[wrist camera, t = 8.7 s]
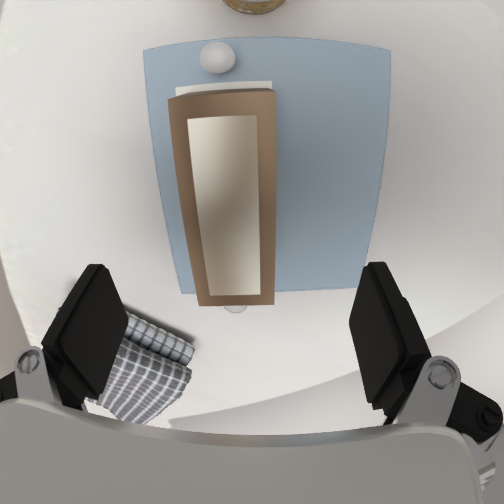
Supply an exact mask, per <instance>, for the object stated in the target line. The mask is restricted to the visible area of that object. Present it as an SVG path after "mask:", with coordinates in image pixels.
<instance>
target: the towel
mask: <svg viewBox="0 0 504 504" xmlns="http://www.w3.org/2000/svg"><path fill="white" fill-rule="evenodd" d="M74 286H75V285H74ZM61 307H62V306H61ZM61 307H60V308H61ZM60 308H59V309H58V312H59V310H60ZM125 311H126V310H125ZM58 312H57V313H58ZM126 313H127V315H128V319H129V323H128V327H127V329H126V332H125V334H124V337H123V339H122V342H121V345H120V347H119V350H118V353H117V355H116V358H115V361H114V364H113V366H112V369H111V372H110V375H109V378H108V381H107V384H106V386H105V389H104V392H103V393H102V394H100V396H99V399H98V400H93V399H89V398H87V397H85V399H86V400H88V401H89V402H92V403H95V404H96V405H100V406H103V407H104V408H106V409H109V410H110V412H111V413H113V414H114V415H115V416H116V417H117V419H119V420H121V421H126V422H131V423H136V424H141V425H145V424H146V423H147V422H148V421H149V420H151V419H153V418H154V417H155V416H158V415H159V414H160V413H161V412H162V411H163V410H164V409H165V408H167V407H168V406H169V405H171V404H172V403H173V402H174V401H175V400H176V399H177V398H180V396H181V395H182V391H184V389H185V387H186V384H187V383H189V380H190V379H191V374H192V370H191V369H189V368H187V367H186V366H187V364H188V363H189V362H190V360H191V359H192V355H193V353H194V351H195V349H194V347H193V345H192V344H190V343H188V342H186V341H184V340H183V339H182V338H179V337H176V336H175V335H173V334H172V333H170V332H166V331H165V330H164V329H162V328H158V327H157V326H155V325H153V324H151V323H148V322H147V321H145V320H143V319H140V318H138V317H137V316H135V315H134V314H130V313H129V312H127V311H126ZM56 315H57V314H56Z"/></svg>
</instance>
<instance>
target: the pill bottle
mask: <svg viewBox="0 0 504 504" xmlns="http://www.w3.org/2000/svg"><path fill="white" fill-rule="evenodd" d="M223 1H224V2H225V3H226V4H227V5H228V6H229V7H231V8H233V9H234V10H237V11H239V12H243V13H250V14H256V13H258V14H261V13H265V12H269V11H271V10H274V9H276V8H277V7H278V6H280V5H282V4H283V2H284V1H285V0H223Z"/></svg>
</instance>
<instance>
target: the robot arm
mask: <svg viewBox="0 0 504 504" xmlns="http://www.w3.org/2000/svg"><path fill="white" fill-rule="evenodd" d="M128 323H129V319H128V315H127V313H126V311H125V308H124V306H123V304H122V302H121V299H120V297H119V294H118V292H117V290H116V287H115V285H114V282H113V280H112V277H111V275H110V272H109V270H108V269H107V268H105V266H104V265H103V264H89V265H88V266H87V267H86V269H85V270H84V272H83V273H82V275H81V276H80V278H79V279H78V281H77V282H76V284H75V286H74V287H73V289H72V290H71V292H70V293H69V295H68V297H67V298H66V300H65V302H64V303H63V305H62V307H61V308H60V310H59V312H58V313H57V315H56V317H55V318H54V320H53V322H52V324H51V325H50V327H49V329H48V331H47V333H46V334H45V336H44V338H43V340H42V342H41V344H42V345H43V349H42V350H41V349H40V348H38V347H36V346H31V347H28V348H26V349H24V350H23V351H22V352H21V353H20V354H19V355H18V357H17V359H16V361H15V368H14V369H15V371H13V372H12V373H10V374H8V375H7V376H5V377H3V378H2V379H0V504H504V424H503V414H502V411H501V408H500V407H499V405H498V404H497V403H496V402H494V401H493V400H492V399H490V398H488V397H486V396H485V395H483V394H481V393H479V392H478V391H476V390H474V389H473V388H471V387H469V386H467V385H466V384H464V383H462V382H460V381H461V374H460V371H459V368H458V367H457V365H456V364H455V363H454V362H453V361H452V360H451V359H449V358H447V357H444V356H434V357H432V356H431V353H430V351H429V349H428V346H427V344H426V341H425V339H424V336H423V334H422V332H421V329H420V327H419V325H418V323H417V320H416V318H415V316H414V314H413V312H412V309H411V307H410V305H409V303H408V301H407V300H406V298H404V297H402V295H401V292H400V290H399V288H398V286H397V284H396V282H395V280H394V278H393V276H392V274H391V272H390V270H389V268H388V266H387V265H386V263H385V262H369V263H368V265H367V266H364V267H363V270H362V274H361V278H360V281H359V285H358V289H357V293H356V297H355V300H354V304H353V307H352V311H351V314H350V318H349V327H350V331H351V335H352V339H353V342H354V346H355V351H356V355H357V359H358V363H359V367H360V372H361V376H362V380H363V385H364V390H365V394H366V399H367V402H368V403H372V407H373V410H376V409H383V411H384V415H386V417H385V418H384V420H383V422H382V423H381V425H380V426H376V427H367V428H360V429H353V430H344V431H334V432H323V433H311V434H294V435H230V434H212V433H201V432H191V431H182V430H174V429H166V428H159V427H153V426H147V425H141V424H136V423H131V422H126V421H121V420H116V419H112V418H108V417H104V416H100V415H96V414H92V413H88V411H87V408H86V405H85V403H84V399H85V397H87V398H89V399H93V400H98V399H99V396H100V394H102V393H103V392H104V389H105V386H106V384H107V381H108V378H109V375H110V372H111V369H112V366H113V364H114V361H115V358H116V355H117V353H118V350H119V347H120V345H121V342H122V339H123V337H124V334H125V332H126V329H127V327H128Z"/></svg>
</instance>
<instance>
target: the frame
mask: <svg viewBox="0 0 504 504" xmlns="http://www.w3.org/2000/svg"><path fill="white" fill-rule="evenodd" d="M167 100H168V111H169V121H170V130H171V139H172V147H173V155H174V163H175V171H176V178H177V185H178V192H179V199H180V205H181V212H182V218H183V224H184V230H185V236H186V241H187V247H188V253H189V258H190V263H191V269H192V274H193V279H194V284H195V289H196V294H197V299H198V303H199V306H245V305H274V294H275V252H276V92H275V91H274V90H272V89H270V88H243V89H224V90H211V91H200V92H190V93H186V94H182V95H179V96H176V97H173V98H170V99H167Z"/></svg>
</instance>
